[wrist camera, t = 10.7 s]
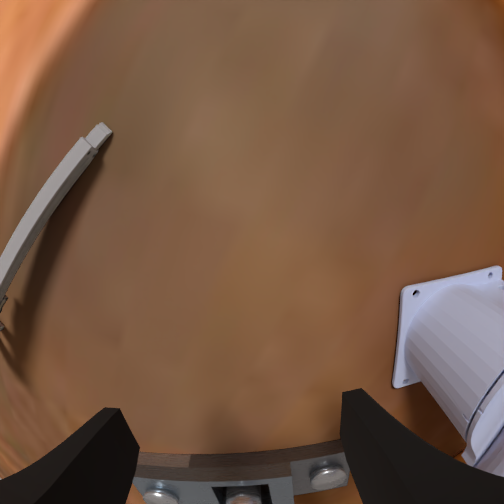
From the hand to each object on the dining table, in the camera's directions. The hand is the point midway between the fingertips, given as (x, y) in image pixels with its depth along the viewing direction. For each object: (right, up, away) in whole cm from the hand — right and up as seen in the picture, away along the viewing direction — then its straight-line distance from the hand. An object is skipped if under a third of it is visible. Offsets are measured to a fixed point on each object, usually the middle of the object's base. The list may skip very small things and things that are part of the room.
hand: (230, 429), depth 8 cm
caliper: (-15, +6, +9) cm, 18 cm away
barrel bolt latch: (0, -13, +13) cm, 19 cm away
